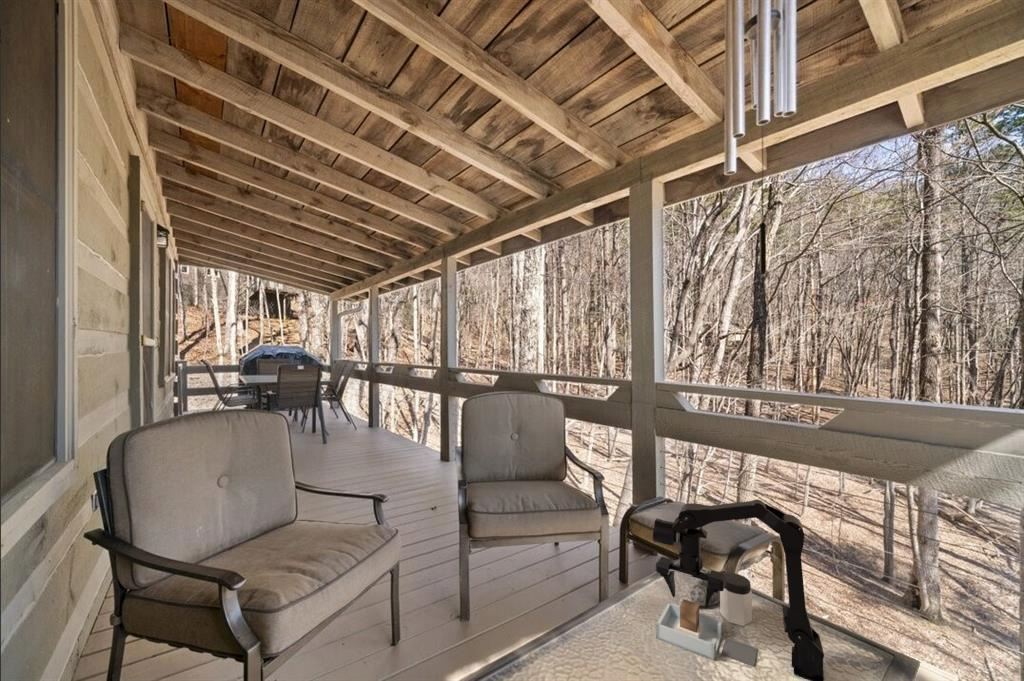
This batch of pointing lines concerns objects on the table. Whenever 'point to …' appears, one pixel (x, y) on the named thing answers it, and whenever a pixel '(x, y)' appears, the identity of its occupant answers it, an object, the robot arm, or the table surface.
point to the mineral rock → (703, 593)
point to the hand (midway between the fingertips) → (690, 601)
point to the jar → (736, 599)
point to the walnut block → (689, 615)
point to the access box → (690, 632)
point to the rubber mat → (739, 651)
